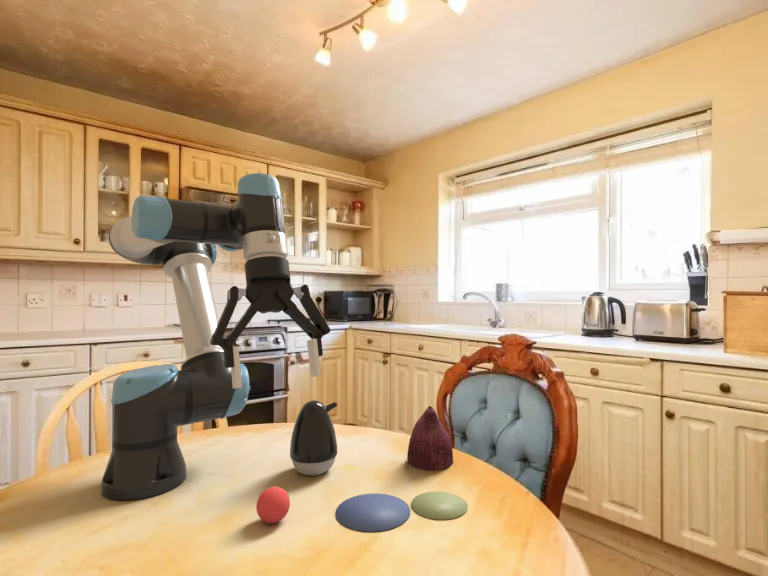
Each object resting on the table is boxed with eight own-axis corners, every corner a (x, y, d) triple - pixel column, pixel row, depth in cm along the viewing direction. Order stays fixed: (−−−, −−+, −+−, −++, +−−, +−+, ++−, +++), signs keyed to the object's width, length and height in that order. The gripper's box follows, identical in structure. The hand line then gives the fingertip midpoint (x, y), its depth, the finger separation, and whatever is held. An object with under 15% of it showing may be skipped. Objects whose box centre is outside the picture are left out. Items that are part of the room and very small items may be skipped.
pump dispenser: (344, 475, 90) (343, 403, 91) (294, 484, 87) (294, 408, 87) (331, 459, 100) (331, 393, 100) (286, 465, 96) (286, 397, 96)
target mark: (338, 535, 68) (338, 534, 68) (333, 497, 81) (333, 496, 81) (418, 527, 70) (418, 526, 70) (401, 491, 83) (401, 490, 83)
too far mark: (419, 522, 72) (419, 521, 72) (406, 495, 81) (406, 494, 81) (476, 516, 73) (476, 515, 73) (456, 490, 83) (456, 489, 83)
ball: (254, 531, 69) (254, 497, 69) (258, 514, 75) (258, 482, 75) (289, 528, 70) (289, 494, 70) (290, 511, 76) (290, 480, 76)
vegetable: (450, 486, 92) (457, 424, 88) (402, 476, 94) (408, 415, 91) (453, 456, 102) (460, 400, 98) (410, 448, 104) (416, 392, 101)
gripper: (194, 252, 66) (203, 393, 62) (338, 255, 80) (353, 370, 76) (186, 265, 72) (194, 394, 68) (322, 266, 86) (335, 373, 82)
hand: (278, 382), depth 72 cm, fingers open, 13 cm apart
